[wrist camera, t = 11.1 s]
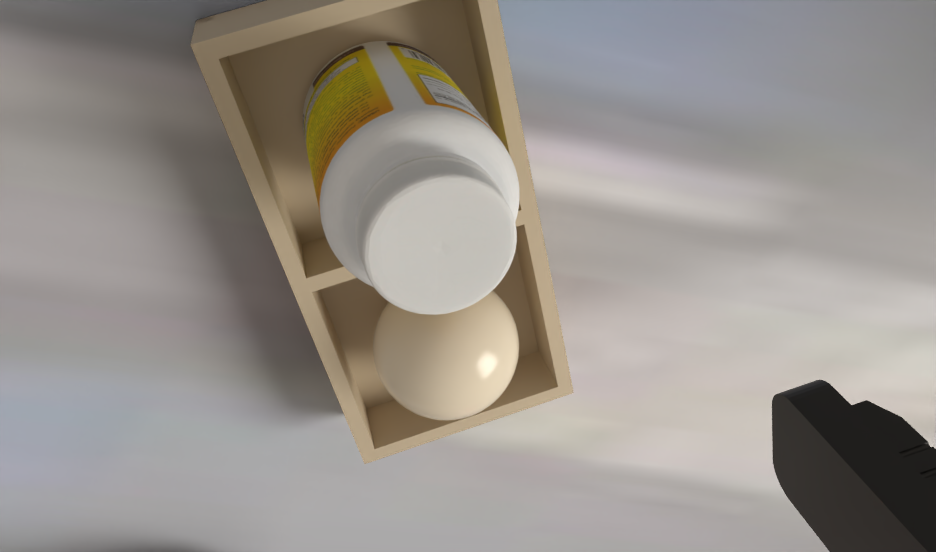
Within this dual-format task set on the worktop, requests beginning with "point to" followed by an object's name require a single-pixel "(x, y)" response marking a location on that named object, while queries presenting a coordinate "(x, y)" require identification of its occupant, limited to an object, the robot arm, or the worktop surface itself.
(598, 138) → the worktop surface
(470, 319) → the egg
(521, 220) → the divided tray
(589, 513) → the worktop surface
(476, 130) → the supplement bottle
